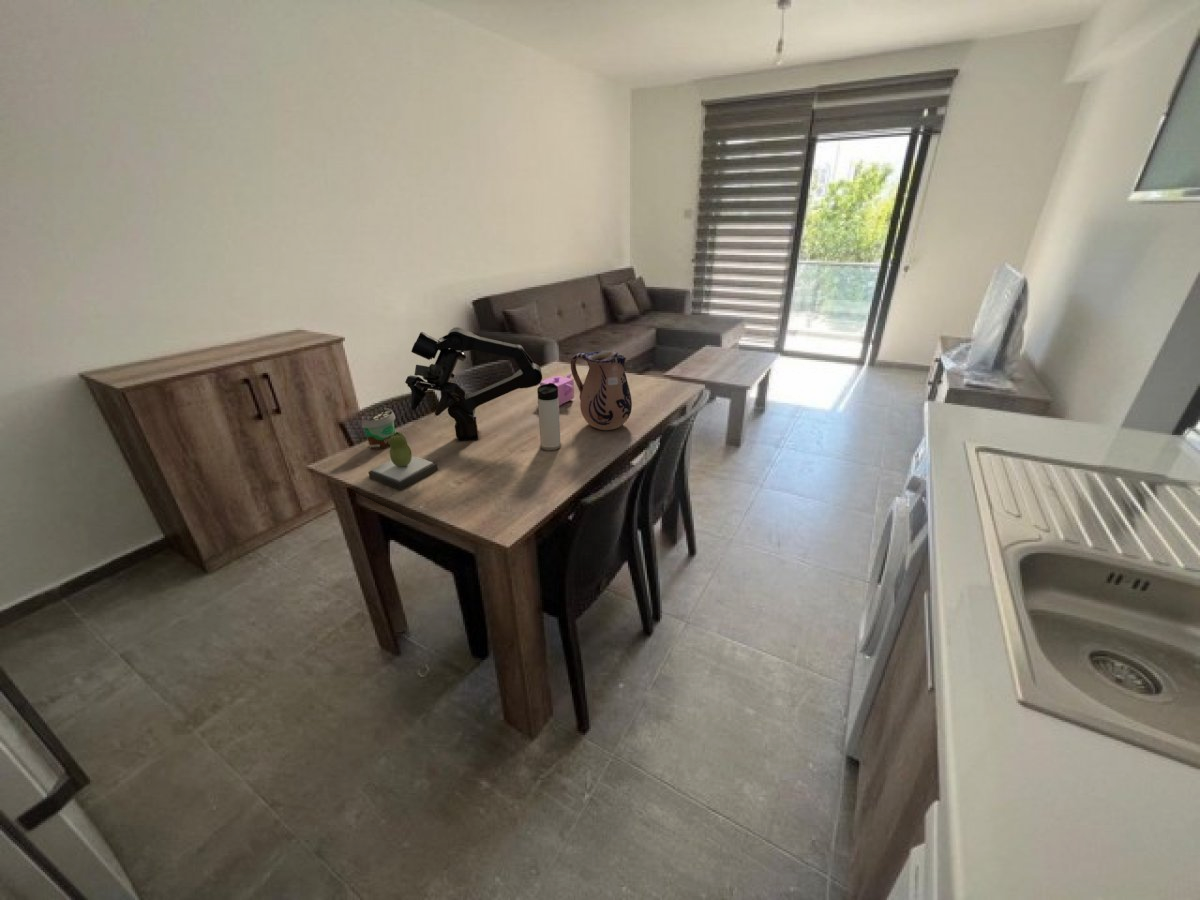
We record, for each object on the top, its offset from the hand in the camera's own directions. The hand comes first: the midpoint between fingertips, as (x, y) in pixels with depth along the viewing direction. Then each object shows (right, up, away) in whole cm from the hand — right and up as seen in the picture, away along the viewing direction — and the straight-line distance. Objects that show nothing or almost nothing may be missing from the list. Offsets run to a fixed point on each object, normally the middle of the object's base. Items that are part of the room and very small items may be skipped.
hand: (424, 412), depth 142 cm
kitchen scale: (-4, -18, -5) cm, 19 cm away
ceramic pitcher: (+53, -3, +25) cm, 58 cm away
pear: (-4, -16, -6) cm, 17 cm away
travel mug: (+37, -10, +10) cm, 39 cm away
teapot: (+37, +8, +46) cm, 59 cm away
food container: (-16, -9, +13) cm, 22 cm away
